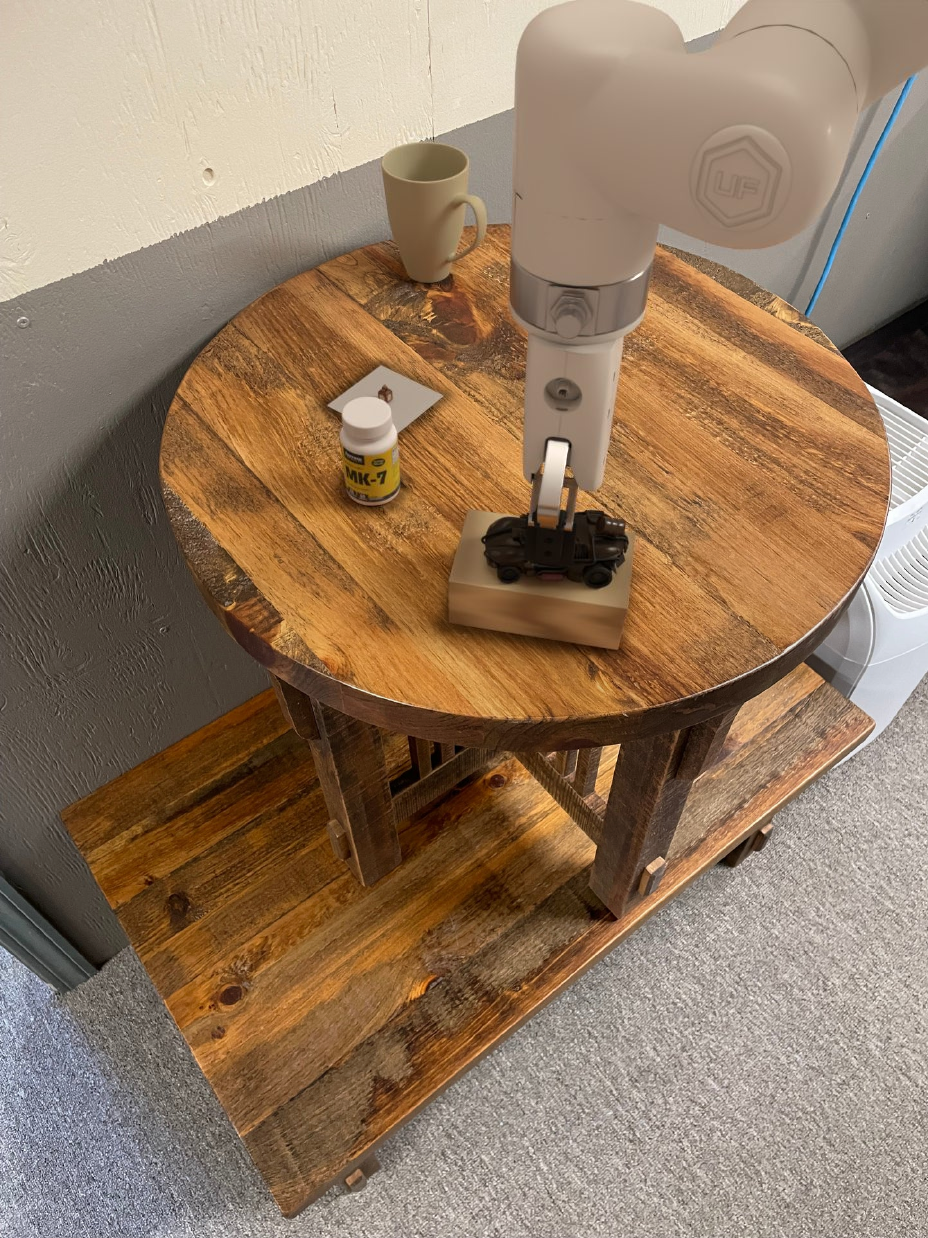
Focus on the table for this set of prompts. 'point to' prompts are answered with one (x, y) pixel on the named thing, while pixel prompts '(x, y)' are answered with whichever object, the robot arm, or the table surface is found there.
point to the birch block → (534, 596)
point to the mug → (429, 206)
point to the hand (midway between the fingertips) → (557, 509)
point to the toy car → (591, 553)
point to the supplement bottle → (369, 451)
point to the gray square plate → (391, 395)
